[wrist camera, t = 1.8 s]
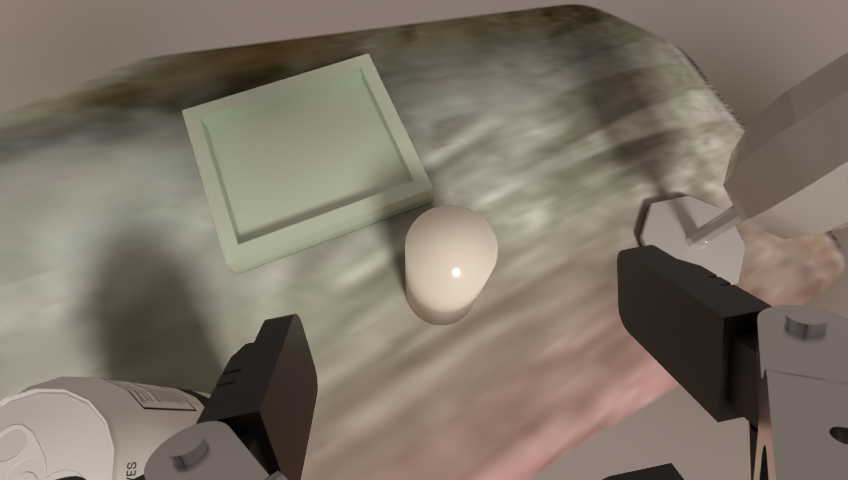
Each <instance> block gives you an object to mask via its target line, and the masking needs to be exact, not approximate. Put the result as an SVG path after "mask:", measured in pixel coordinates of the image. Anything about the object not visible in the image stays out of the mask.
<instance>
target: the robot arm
mask: <svg viewBox="0 0 848 480" xmlns="http://www.w3.org/2000/svg"><path fill="white" fill-rule="evenodd" d="M617 274H618V307H619V314H620V317H621V320H622V323H623V325H624V327H625V328H626V330H627V331H628V332H629V333H630V334H631V335H632V336H633V337H634V338H635V339H636V340H637V341H638V342H639V343H640V344H641V345H642V346H643V347H644V348H645V349H646V350H647V351H648V352H649V353H650V354H651V355H652V356H653V357H654V358H655V359H656V360H657V361H658V362H659V363H660V365H661V366H662V367H663V368H664V369H665V370H666V371H667V372H668V373H669V374H670V375H671V376H672V377H673V378H674V379H675V380H676V381H677V382H678V383H679V384H680V385H681V386H682V387H684V388H685V390H686V391H687V392H688V393H689V394H690V395H691V396H692V397H693V398H694V399H695V400H697V402H698V403H699V404H700V405H701V406H702V407H703V408H704V409H705V410H707V412H708V413H710V415H711V416H712V417H713V418H714V419H715V420H716V421H717V422H721V421H726V420H731V419H735V418H740V417H745V418H746V419H747V420H748V421H749V422H748V433H747V449H748V480H848V319H846V318H844V317H842V316H840V315H837V314H835V313H833V312H829V311H827V310H823V309H819V308H814V307H809V306H801V305H780V306H774V307H772V306H770V305H769V304H767V303H765V302H763V301H762V300H760V299H758V298H756V297H755V296H753V295H751V294H749V293H748V292H746V291H744V290H742V289H741V288H739V287H737V286H735V285H731V283H730V282H728V281H727V280H725V279H723V278H721V277H717V275H716V274H715V273H713V272H711V271H709V270H708V269H706V268H704V267H702V266H701V265H697V264H694V263H690V262H687V261H683V260H680V259H676V258H675V257H673V256H671V255H670V254H668V253H666V252H665V251H663V250H661V249H660V248H658V247H656V246H654V245H647V246H642V247H637V248H631V249H626V250H622V251H620V252H619V254H618V258H617ZM317 390H318V385H317V375H316V370H315V366H314V363H313V359H312V356H311V352H310V349H309V346H308V342H307V339H306V336H305V332H304V329H303V325H302V322H301V320H300V318H299V316H298V315H297V314H293V315H288V316H283V317H277V318H272V319H267V320H265V321H264V323H263V325H262V327H261V329H260V331H259V333H258V335H257V337H256V340H255V342H254V343H248V344H245V345H244V346H243V347H242V348H241V349H240V350H239V351H238V352H237V353H236V354H234V355H233V356H232V357H231V358H230V360H229V362H228V364H227V366H226V368H225V370H224V371H223V375H222V376H221V377H220V379H219V381H218V383H217V388H214V390H213V392H212V394H211V396H210V398H209V400H208V402H207V403H206V405H205V407H204V409H203V411H202V413H201V415H200V417H199V419H198V420H197V422H196V424H195V425H193V426H190V427H188V428H185V429H183V430H181V431H180V432H178V433H176V434H174V435H173V436H171V437H170V438H168V439H167V440H166V441H164V442H163V443H162V444H161V445H160V446H159V447H158V448H157V449H156V450H155V451H154V452H153V453H152V455H151V456H150V457H149V459H148V461H147V462H146V465H145V468H144V474H143V475H141V476H139V477H136V478H134V479H132V480H301V475H302V470H303V465H304V460H305V454H306V449H307V444H308V439H309V434H310V429H311V423H312V418H313V413H314V408H315V403H316V398H317ZM56 480H86V479H85V478H83V477H79V476H69V477H63V478H60V479H56ZM603 480H684V479H683V478H682V476H681V475H680V474H679V473H678V471H677V470H676V469H675V467H674V466H673V465H672V463H670V464H665V465H660V466H656V467H651V468H646V469H641V470H637V471H632V472H627V473H623V474H618V475H613V476H609V477H607V478H605V479H603Z"/></svg>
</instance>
